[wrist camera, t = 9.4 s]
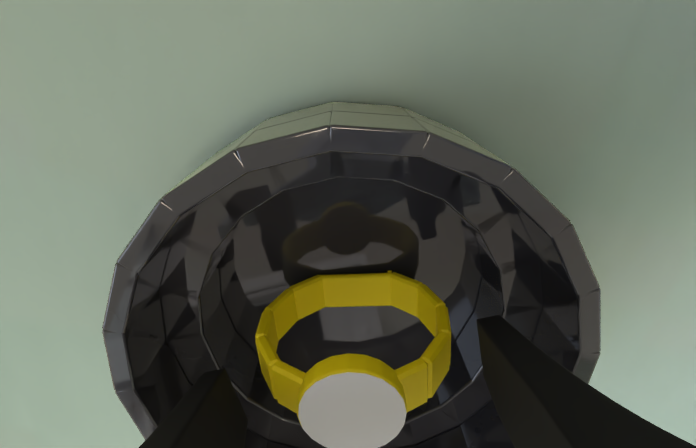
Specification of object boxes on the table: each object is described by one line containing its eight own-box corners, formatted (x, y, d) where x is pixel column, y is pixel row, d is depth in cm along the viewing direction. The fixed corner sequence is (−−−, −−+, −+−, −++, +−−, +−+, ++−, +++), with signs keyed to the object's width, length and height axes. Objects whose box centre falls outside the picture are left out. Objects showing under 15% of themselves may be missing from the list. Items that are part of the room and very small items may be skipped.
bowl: (566, 116, 14) (682, 148, 9) (484, 412, 19) (531, 529, 14) (155, 86, 13) (54, 105, 8) (190, 401, 18) (139, 519, 14)
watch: (430, 248, 15) (483, 363, 9) (430, 311, 16) (477, 446, 10) (269, 260, 15) (228, 381, 9) (279, 322, 16) (248, 462, 11)
